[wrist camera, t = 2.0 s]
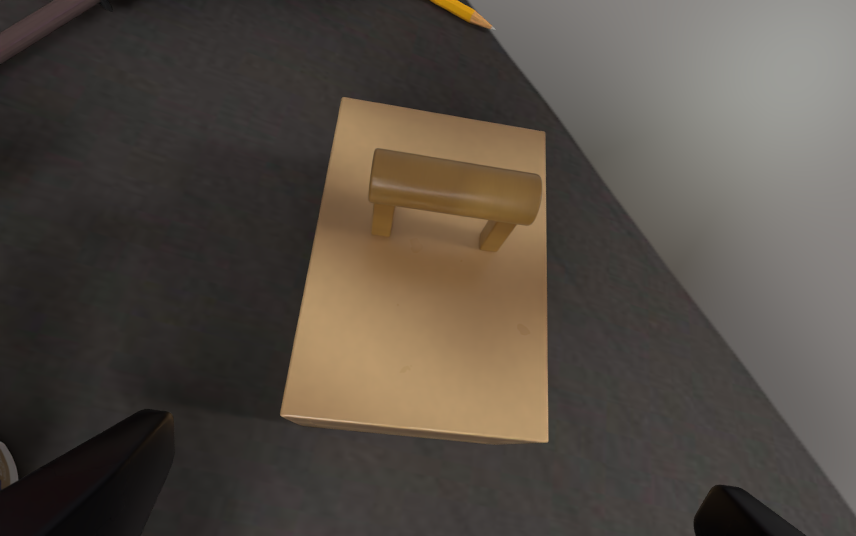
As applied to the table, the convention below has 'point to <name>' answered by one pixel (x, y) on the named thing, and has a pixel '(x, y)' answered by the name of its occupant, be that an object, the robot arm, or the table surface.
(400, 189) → the lid
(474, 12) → the pencil
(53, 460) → the robot arm
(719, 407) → the table surface
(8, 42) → the kunai knife
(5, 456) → the pill bottle
